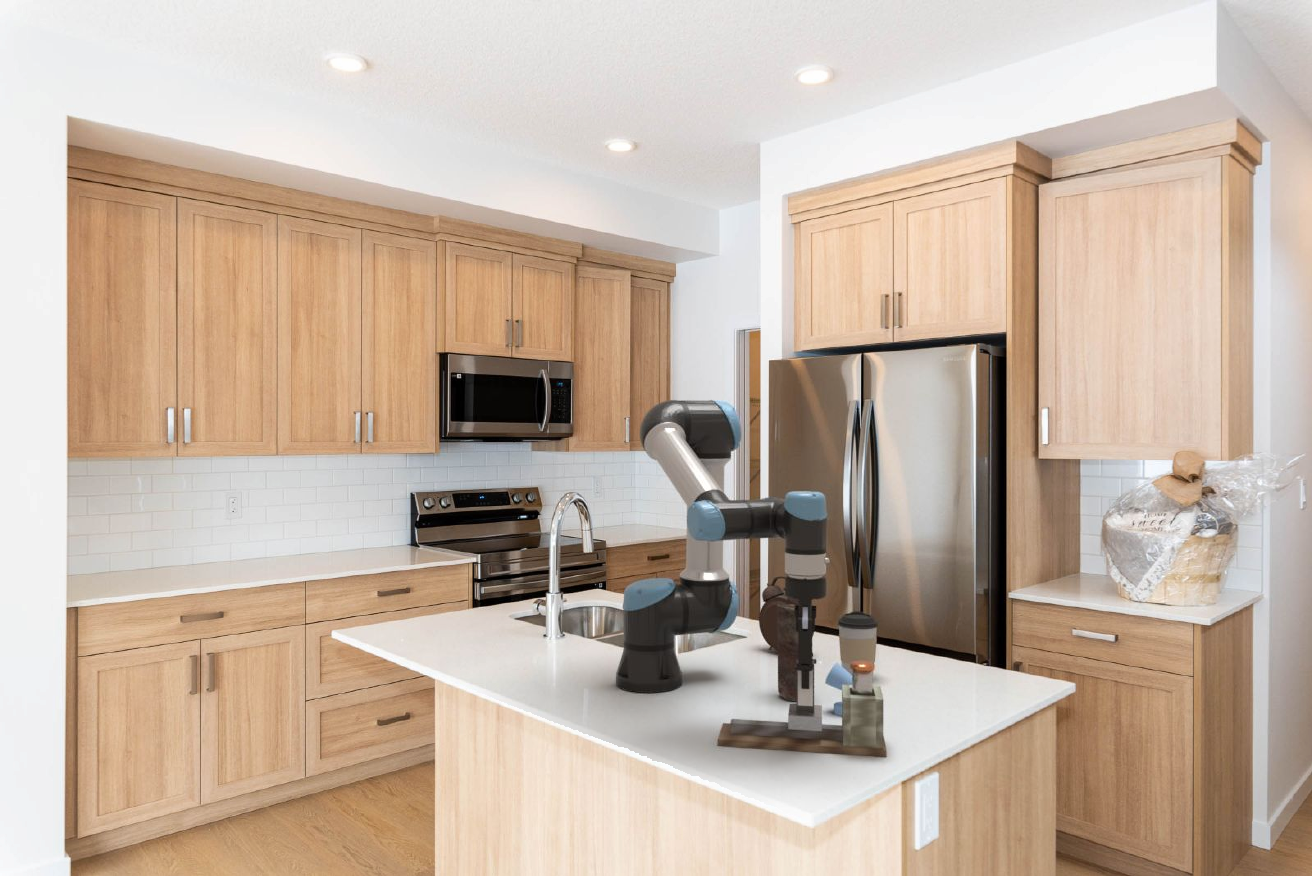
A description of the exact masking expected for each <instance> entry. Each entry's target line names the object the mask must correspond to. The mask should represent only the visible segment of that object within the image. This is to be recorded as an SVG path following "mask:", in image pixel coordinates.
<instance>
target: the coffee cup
mask: <svg viewBox="0 0 1312 876" xmlns="http://www.w3.org/2000/svg"><path fill="white" fill-rule="evenodd" d="M837 622H838V623H837V625H838V630H839V633H838V638H839V639H838V641H839V652H840V661H841V662H840V663H841V666H842V667H843V668H844V669H845V670H846V671H847V672H849V673H850V674H851V675H852V669H850V662H852V661H868V662H872V663H874V664H875V662H876V653H877V652H876V650H877V638H878V637H877V629H878V620H876V619H875V618H874V617H873V615H872V614H867V613H865V612H863V611H860V610H859V611H857V610H854V611H853V610H852V611H851V612H849V613H844V614H842V616H841V617H840V618H838V621H837ZM874 670H875V669H874ZM874 670H873V671H872V681H874Z"/></svg>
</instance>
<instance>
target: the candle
mask: <svg viewBox="0 0 1312 876" xmlns="http://www.w3.org/2000/svg"><path fill="white" fill-rule="evenodd" d="M777 630H778V651H777V692H778V694H779V696H781V697H782V698H784V699H785V701H789V702H796V674H797V670H794V667H797V660H798V632H797V631H796V617H795V605H792V604H790V605H782V604H780V605H777Z"/></svg>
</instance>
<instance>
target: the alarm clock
mask: <svg viewBox="0 0 1312 876" xmlns="http://www.w3.org/2000/svg"><path fill="white" fill-rule="evenodd" d="M786 576H787V575H779V576H776V577H774V578H773V580H772V582H771V583H770V582H767V583H766V587H765V588H764V590H762V594H761V597H762V601H763V602H762V603H764V604H762V606H761V608H760V611H759V614H758V615H759V616H758V622H759V623H758V625H759V630H760V633H761V636H762V637H763V640H764V641H765V642H766V644H767V645H768V646H769V647H768V651H769V652H770V651H771V650H772V649H773V650H775V651H777V652H778V630H777V605H780V604H782V605H790V604H792V605H799V599H793V598H789V597H787V596H786V594H785V587H783V588H782V587H780V586H779V585H777V584H776V583H777V581H778V580H779V579H784V580H785V578H786ZM775 584H776V585H775ZM814 634H815V632H814V633H812V638H814Z"/></svg>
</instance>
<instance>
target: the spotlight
mask: <svg viewBox="0 0 1312 876" xmlns="http://www.w3.org/2000/svg"><path fill="white" fill-rule="evenodd" d="M824 683H825V684H826V685H827V686H830V687H833V688H835V689H837V690H839V691H842V685H852V675H851V674H850V673H849V672H847V671H846V670H845V669H844V668H843V667H842V664H840V663H839V662H836V663H835V664H833V666H832V667H831V669H830V670H829V672H828V674H827V676H826V679H825V682H824ZM833 714H835V715H836V716H840V717H842V701H836V702H834V703H833Z"/></svg>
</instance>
